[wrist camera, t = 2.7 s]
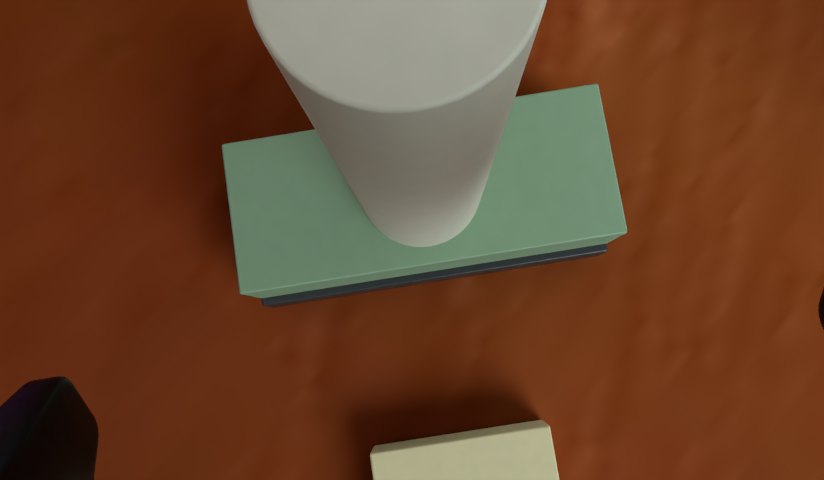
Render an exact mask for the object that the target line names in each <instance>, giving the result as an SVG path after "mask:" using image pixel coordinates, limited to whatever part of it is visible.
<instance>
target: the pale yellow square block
mask: <svg viewBox="0 0 824 480" xmlns="http://www.w3.org/2000/svg"><path fill="white" fill-rule="evenodd" d="M370 461H371V468H372V475H373V480H559V475H558V469H557V464H556V458H555V452H554V447H553V441H552V436H551V430H550V427H549V425H548V424H546V423H545V422H544V421H543V420H536V421H530V422H523V423H517V424H510V425H504V426H497V427H491V428H485V429H478V430H472V431H465V432H459V433H452V434H446V435H440V436H433V437H427V438H420V439H414V440H407V441H401V442H395V443H388V444H382V445H375V446H374V447H373V449H372V451H371V453H370Z"/></svg>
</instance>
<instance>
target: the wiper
mask: <svg viewBox="0 0 824 480" xmlns="http://www.w3.org/2000/svg"><path fill="white" fill-rule="evenodd" d="M546 2H547V0H247V4H248V9H249V12H250V14H251V17H252V20H253V23H254V26H255V28H256V30H257V32H258V34H259V36H260V37H261V39H262V41H263V43H264V45H265V47H266V48H267V50H268V52H269V53H270V55H271V57H272V58H273V60H274V62H275V63H276V65H277V67H278V68H279V70H280V72H281V73H282V75H283V77H284V78H285V80H286V81H287V83H288V85H289V86H290V88H291V90H292V91H293V93H294V95H295V96H296V98H297V100H298V101H299V103H300V105H301V106H302V108H303V110H304V111H305V113H306V115H307V116H308V118H309V120H310V121H311V123H312V125H313V126H314V128H315V129H314V130H307V131H301V132H295V133H289V134H283V135H277V136H270V137H264V138H258V139H252V140H246V141H240V142H233V143H227V144H223V145H222V154H223V162H224V170H225V178H226V186H227V194H228V202H229V210H230V219H231V227H232V235H233V243H234V251H235V259H236V267H237V275H238V284H239V292H240V294H242V295H248V296H253V297H258V298H261V299H262V305H263V306H268V307H277V306H284V305H290V304H296V303H302V302H309V301H315V300H321V299H328V298H334V297H340V296H347V295H353V294H359V293H365V292H372V291H378V290H384V289H391V288H397V287H403V286H410V285H416V284H422V283H428V282H435V281H441V280H447V279H454V278H460V277H466V276H473V275H479V274H485V273H491V272H498V271H504V270H510V269H517V268H523V267H529V266H536V265H542V264H548V263H554V262H561V261H567V260H573V259H580V258H586V257H592V256H598V255H600V254H602V253H605V252H607V250H608V248H607V243H608V242H610V241H612V240H614V239H616V238H618V237H620V236H622V235H623V234H625V233H627V226H626V221H625V216H624V211H623V206H622V201H621V196H620V191H619V186H618V181H617V176H616V171H615V166H614V161H613V156H612V151H611V146H610V141H609V136H608V131H607V126H606V121H605V116H604V111H603V106H602V101H601V96H600V91H599V86H598V84H591V85H585V86H578V87H572V88H566V89H560V90H554V91H548V92H541V93H535V94H529V95H523V96H517V97H515V96H516V93H517V90H518V87H519V84H520V81H521V78H522V75H523V72H524V69H525V66H526V63H527V60H528V57H529V54H530V51H531V48H532V45H533V42H534V39H535V36H536V33H537V30H538V27H539V24H540V21H541V18H542V15H543V12H544V9H545V5H546Z"/></svg>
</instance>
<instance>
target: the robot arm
mask: <svg viewBox="0 0 824 480" xmlns="http://www.w3.org/2000/svg"><path fill="white" fill-rule="evenodd" d="M819 318H820V322H821V324H822V327H823V329H824V289H823V292H822V295H821V298H820V302H819ZM97 446H98V426H97V423H96V420H95V418H94V416H93V414H92V413H91V411H90V410H89V408H88V407H87V405H86V404H85V402H84V401H83V399H82V398H81V396H80V395H79V393H78V392H77V390H76V388H75V387H74V385H73V384H72V383H71V381H70V380H68V379H67V378H65V377H60V376H58V377H51V378H45V379H39V380H33V381H30V382H28V383H26V384H25V385H23V386H22V387H21V388H20V389H19V390H18V391H17V392H16V393H15V394H13V395H12V396H11V397H10V398H9V399H8V400H7V401H6V402H5V403H4V404H3V405H2V406H1V407H0V480H94V472H95V463H96V455H97Z"/></svg>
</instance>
